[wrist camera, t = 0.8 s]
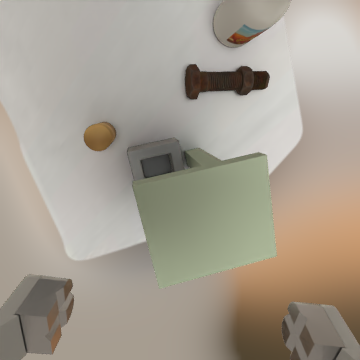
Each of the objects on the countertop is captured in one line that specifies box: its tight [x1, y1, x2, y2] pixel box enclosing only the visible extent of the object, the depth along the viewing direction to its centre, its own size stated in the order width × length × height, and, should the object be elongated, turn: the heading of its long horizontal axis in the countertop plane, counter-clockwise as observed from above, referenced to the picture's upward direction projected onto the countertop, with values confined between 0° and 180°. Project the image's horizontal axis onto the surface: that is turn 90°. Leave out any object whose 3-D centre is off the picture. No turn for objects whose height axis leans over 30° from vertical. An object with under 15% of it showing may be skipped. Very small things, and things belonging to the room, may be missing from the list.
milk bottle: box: [213, 0, 292, 47], centre depth 36 cm, size 8×8×20 cm
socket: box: [127, 138, 185, 181], centre depth 47 cm, size 9×9×6 cm
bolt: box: [185, 64, 270, 99], centre depth 46 cm, size 6×5×15 cm
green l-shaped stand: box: [132, 148, 277, 288], centre depth 36 cm, size 10×12×30 cm
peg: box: [84, 122, 116, 151], centre depth 43 cm, size 4×4×9 cm
